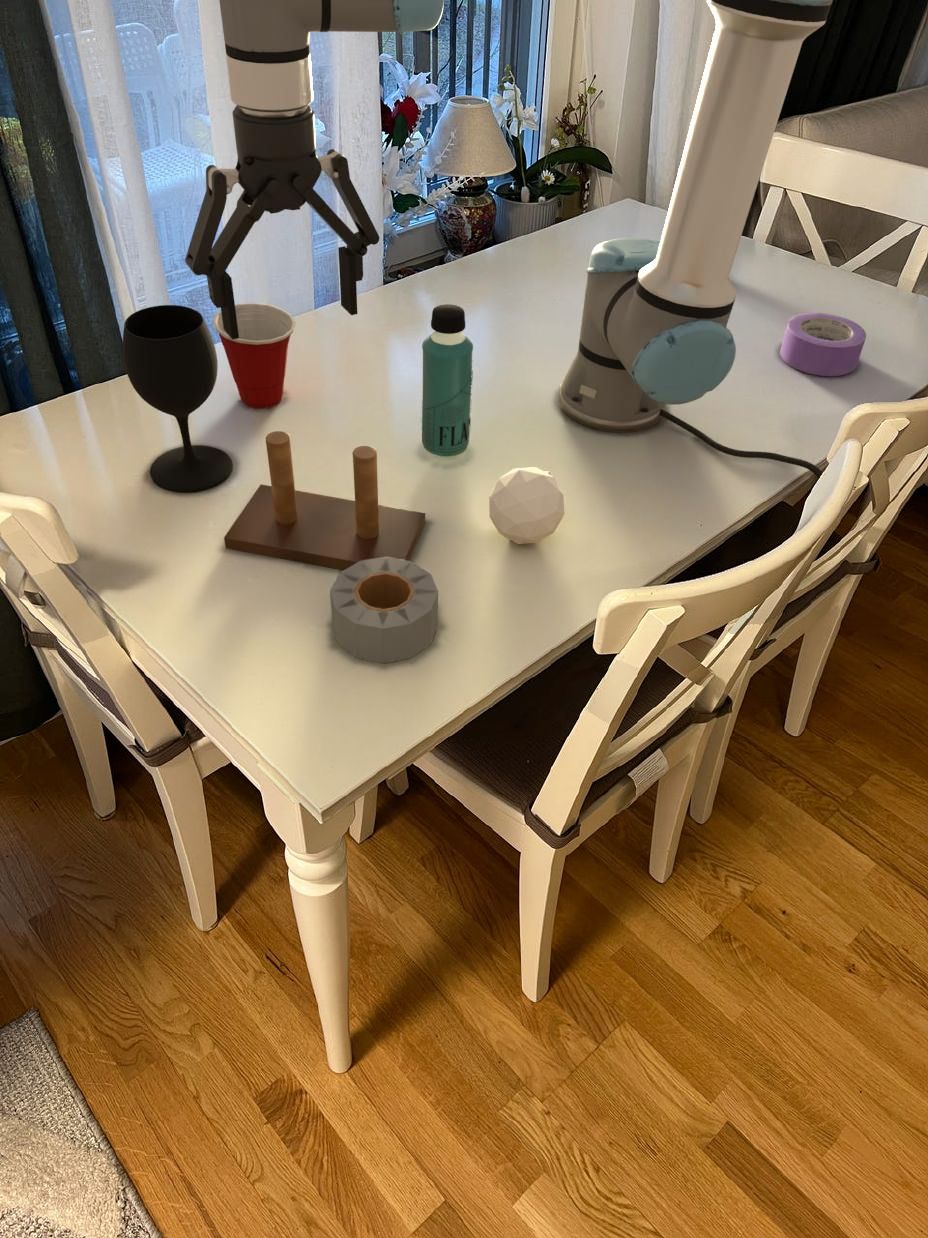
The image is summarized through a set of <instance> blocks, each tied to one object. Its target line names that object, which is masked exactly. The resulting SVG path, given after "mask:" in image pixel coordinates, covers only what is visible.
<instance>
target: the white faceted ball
mask: <svg viewBox="0 0 928 1238" xmlns="http://www.w3.org/2000/svg"><path fill="white" fill-rule="evenodd" d="M564 501H565V500H564V493H563V491H562V490H561V487H560V485H559V483H558V481H557V480H556V478H555V476H553V475H551V472H550V470H545V471H544V470H542V469H541V468H538V467H537V466H533V467H532V466H530V467H519V468H518V467H515V468H512V469H511V470H510V471H508V472H507V473H505V474H503V475H501V476H500V477H498V479H497V481H496V482H495V484H494V487H493V489H492V490H491V493H490V495H489V497H488V504H489V505H488V506H489V509H488V510H489V512H488V513H489V518H490V520H491V523H492V524H493V526H494V527H495V529H496V531H497V532H498V534H499V535H501V536H503V537H505V538H506V539H508V540H510V541H511V542H514V543H515V544H516V545H517V544H518V545H519V544H520V545H522V544H523V545H524V544H539V543H541V542H542V541H544V540H545V539H546V538H548V537H549V536H551V535H552V534H554V533H555V531H556V530H557V528H558V526H559V524H560V523H561V522H562V520H563V518H564V516H565V502H564Z"/></svg>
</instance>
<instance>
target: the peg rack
mask: <svg viewBox="0 0 928 1238" xmlns="http://www.w3.org/2000/svg"><path fill="white" fill-rule="evenodd" d="M265 445H266V454H267V460H268V461H267V462H268V470H269V477H270V485H267V484H260V485H259V486H258V487H257V489H256V490H255V492H254V493H253V494H252V496H251V498H250V499H249V501H248V502H247V503H246V505H245V506H244V508H243V509H242V511H241V512H240V513H239V515H238V517H237V518H236V519H235V521H234V522H233V524H232V525H231V527H230V528H229V529H228V531H227V532H226V534H225V535H224V537H223V540H224V546H225V549H228V550H234V551H240V552H243V553H251V554H255V555H260V556H265V557H270V558H276V559H282V560H287V561H288V560H289V561H293V562H298V563H304V564H309V565H315V566H319V567H324V568H325V567H326V568H330V569H335V570H341V571H344V570H346V569H347V568H349V567H351V566H352V565H354V564H356V563H357V562H359V561H362V560H369V559H375V558H381V557H390V558H395V559H401V560H406V561H411V560H410V559H411V557H412V555H413V553H414V550H415V548H416V546H417V543H418V542H419V539H420V537H421V535H422V532H423V530H424V527H425V526H426V519H427V518H426V516H427V515H426V512H421V511H415V510H411V509H404V508H399V507H398V508H397V507H393V506H389V505H388V506H387V505H381V504H379V487H378V486H379V485H378V483H379V482H378V481H379V480H378V452H377V449H376V448H374V447H373V446H370V445H360V446H356V447H355V448H354V449H353V451H352V467H353V470H352V471H353V490H354V500H352V499H347V498H342V497H336V496H335V497H334V496H330V495H324V494H319V493H312V492H307V491H301V490H296V487H295V478H294V477H295V476H294V466H293V456H292V448H291V447H292V446H291V437H290V434H289V433H287V432H285V431H281V430H276V431H272V432H269V433H267V434H266V436H265Z"/></svg>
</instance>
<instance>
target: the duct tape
mask: <svg viewBox="0 0 928 1238" xmlns="http://www.w3.org/2000/svg"><path fill="white" fill-rule="evenodd" d="M432 575H433V574H431V572H428V571H427V570H425V569H424V568H423V567H421V566H419V564H416V563H415V562H414V561H411V560H409V561H406V560H401V559H395V558H390V557H381V558H375V559H369V560H362V561H359V562H357V563H356V564H354V565H352V566H351V567H349V568H347V569H346V570H341V572H339V573H338V575H337V576H336V578H335V580H334V582H333V584H332V586H331V587H330V590H329V596H330V608H331V609H330V610H331V611H330V612H331V621H332V622H331V623H332V629H333V631H334V635H335V639H336V642H337V645H338V646H339V647H341V648H342V649H344V650H345V651H346V652H348V653H349V654H350V655H351V656H353V657H354V658H355V659H359V660H360V659H361V660H365V661H370V662H375V663H378V664H389V663H394V662H401V661H405V660H410V659H413V658H414V657H416V656H417V655H418V654H420V653H421V652H423V651H424V650H425V649H427V648H428V647H430V646H431V645H432V643H433V640H434V637H435V634H436V631H437V629H438V621H439V620H438V619H439V618H438V617H439V590H438V587H437V585H436V582H435V580H434V577H433V576H432Z"/></svg>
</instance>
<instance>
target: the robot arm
mask: <svg viewBox="0 0 928 1238" xmlns="http://www.w3.org/2000/svg"><path fill="white" fill-rule="evenodd" d="M833 1H834V0H706V2H707V5H708V6H709V9H710V10H711V12H712V14H713V16H714V19H715V31H714V33H713V37H712V42H711V45H710V49H709V52H708V56H707V60H706V64H705V68H704V72H703V76H702V80H701V82H700V83H701V84H700V88H699V91H698V95H697V99H696V103H695V107H694V111H693V114H692V119H691V122H690V126H689V130H688V134H687V138H686V141H685V145H684V149H683V153H682V158H681V161H680V165H679V168H678V171H677V176H676V179H675V184H674V188H673V192H672V195H671V199H670V203H669V206H668V211H667V215H666V218H665V223H664V226H663V229H662V234H661V237H660V240H658V239H651V238H645V237H643V238H642V237H623V238H613V239H608V240H605V241H603V242H601V243H599V244H597V245H596V246H595V247H594V248H593V250H592V251H591V254H590V259H589V264H588V268H587V269H586V274H587V275H586V283H585V289H584V298H583V307H582V315H581V316H582V317H581V324H580V329H579V339H578V347H577V351H576V354H575V355H574V357H573V359H572V361H571V363H570V365H569V367H568V369H567V371H566V373H565V374H564V377H563V379H562V380H561V383H560V386H559V393H558V404H559V407H560V409H561V411H562V412H563V413H564V414H565V415H566V416H567V417H569V418H571V420H573V421H575V422H576V423H578V424H580V425H582V426H585V427H588V428H591V429H594V430H598V431H604V432H609V433H610V432H611V433H632V432H637V431H642V430H645V429H649V428H651V427H653V426H654V425H656V424H657V423H659V422H660V421H661V420H662V418H664V419H666V420H667V421H669V422H671V423H673V424H675V425H676V426H679V428H682V429H684V430H685V431H687V432H689V433H690V434H691V435H693V436H695V437H697V438H698V439H699V440H700V441H702V442H703V443H705V444H706V445H708V446H709V447H711V448H712V449H714V450H716V451H718V452H721V453H723V454H726V455H729V456H732V457H737V458H738V457H739V458H744V459H745V458H746V459H747V458H748V459H764V460H765V459H766V460H773V461H777V462H781V463H784V464H790V465H794V466H797V467H798V466H799V467H802V468H804V469H807V470H809V472H811V473H813V474H814V475H815V477H817V479H819V478H820V476H821V475H822V473H824V472H823V471H822V470H821V469H820V467H818V466H816V465H815V464H814V463H811V462H810V461H807V460H805V459H802V458H797V457H792V456H788V455H784V454H779V453H775V452H770V451H757V450H755V451H753V450H740V449H736V448H735V449H734V448H731V447H729V446H727V445H726V446H725V445H723V444H721V443H719V442H717V441H715V440H714V439H712V438H711V437H709V436H708V435H706V434H705V433H704V432H702V431H701V430H699V429H698V428H696V427H694V426H693V425H691V424H689V423H687V422H686V421H684V420H683V419H681V418H679V417H677V416H675V415H674V414H672V413H670V412H668V411H666V407H667V405H671V406H673V405H683V404H688V403H691V402H694V401H697V400H700V399H702V397H704V395H705V394H707V393H709V392H713V391H714V390H715V389H716V388H717V387H718V386H719V385H720V384H721V383H722V382H723V381H724V380H725V378H727V376H728V375H729V373H730V371H731V369H733V368H732V367H733V365H734V362H735V359H736V354H737V353H736V352H737V346H736V342H735V339H734V336H733V335H734V334H733V333H732V332H731V330H730V329H729V328H727V326H728V322H729V319H730V316H731V314H732V310H733V307H734V305H735V301H736V299H737V289H736V287H735V286H734V284H733V283H732V281H731V279H730V274H731V270H732V266H733V264H734V262H735V261H734V260H735V257H736V254H737V251H738V248H739V245H740V241H741V238H742V236H743V231H744V229H745V226H746V223H747V219H748V217H749V213H750V210H751V207H752V203H753V200H754V197H755V193H756V191H757V188H758V184H759V182H760V178H761V175H762V171H763V168H764V165H765V163H766V159H767V156H768V153H769V149H770V146H771V143H772V140H773V137H774V134H775V130H776V127H777V124H778V121H779V118H780V115H781V112H782V110H783V109H782V108H783V105H784V102H785V100H786V96H787V93H788V89H789V86H790V83H791V80H792V77H793V73H794V70H795V68H796V64H797V60H798V57H799V55H800V52H801V48H802V45H803V42H804V41H805V39H807V37H809V36H810V35H811V34H813V33H814V32H816V31H817V30H819V28H821V27H823V26H824V25H825V24H826V22H827V19H828V15H829V12H830V10H831V6H832V4H833ZM218 2H219V8H220V16H221V24H222V25H221V26H222V32H223V41H224V48H225V56H226V57H225V58H226V67H227V75H228V84H229V85H228V86H229V92H230V93H229V95H230V101H232V103H233V104H235V106H234V109H233V110H232V120H233V121H232V122H233V129H234V138H235V139H234V140H235V147H236V155H237V162H236V165H235V168H218V166H216V165H215V164H209V165H208V166H207V167H206V168H205V193H204V197H203V199H202V203H201V206H200V209H199V212H198V216H197V219H196V222H195V226H194V229H193V231H192V235H191V239H190V242H189V245H188V248H187V252H186V255H185V258H184V263H185V264H186V265H187V267H188V268H189V269H190V271H191V272H192V273H193V274H194V275H196V276H201V275H202V276H206V281H207V289H208V294H209V299H210V301H211V303H212V304H213V305H214V306H215V307H216V309H220V310H221V313H222V320H223V328H224V330H225V331H226V332H227V334H228V335H229V336H230V337H231V339H232V340H233V339H238V338H239V333H238V325H237V317H236V310H235V304H236V303H235V297H234V295H235V294H234V289H233V279H232V276H230V274H229V273H228V272H227V269H228V267H229V266H230V264H231V263H232V261H233V259H234V257H235V256H236V255H237V253H238V251H239V249H240V247H241V246H242V244H243V243H244V241H245V239H246V237H247V236H248V235H249V233H250V231H251V230H252V228H253V226H254V225H255V224H256V222H259V221H260V219H261V218H262V216H263V214H264V213H265V212H267V213H269V214H271V215H272V214H273V215H274V214H278V213H281V212H283V211H285V210H287V211H298V210H301V207H303V206H304V205H305V204H307V205H308V206H309V207H310V208H311V209H312V210H313V211H314V212H315V213H316V214H317V215H318V217H319V218H320V219H322V220H323V222H324V223H325V224H326V225H327V226H328V227H329V228H330V229H331V230H332V231H333V232H334V234H336V235H337V237H339V238H340V239H341V241H343V243H344V244H345V245H346V246H344V245H343V246H338V248H337V250H338V271H339V289H340V291H339V292H340V306H341V307H342V308H343V309H344V310H345V311H346V312H347V313H348V314H349V315H350V316H355V315H358V293H357V282H360V281H363V278H364V256H365V255H367V254H368V247H369V246H371V245H374V246H375V245H377V244H378V243H379V241H380V235H379V232H378V230H377V229H376V227H375V225H374V223H373V221H372V220H371V217H370V215H369V213H368V212H367V209H366V207H365V205H364V204H363V201H362V199H361V197H360V195H359V194H358V191H357V189H356V187H355V186H354V184H353V182H352V180H351V175H350V168H349V161H348V159H347V157H346V156H345V155H343V154H341V153H340V152H339V151H338V150H337V149H334V148H330V149H329V150H328V151H327V153H326V154H325V155H322V156H317V152H316V151H317V139H316V123H315V111H314V110H313V108H312V107H311V106H310V105H311V104H312V103H313V101H314V90H313V76H312V75H313V74H312V73H313V72H312V61H311V44H310V34H311V33H312V32H313V33H314V32H318V33H328V32H337V33H338V32H341V33H342V32H345V33H348V32H350V33H361V32H362V33H364V32H365V33H399V34H400V35H405V34H406V33H410V32H412V33H413V32H421V31H422V32H423V31H431V30H433V29H435V28H436V26H438V24H439V23H440V20H441V18H442V15H443V10H444V3H445V0H218ZM322 172H323V173H324V174H325V176H326V177H328V178H329V179H330V180H331V181H332V184H333V185H334V187H335V189H336V191H337V193H338V195H339V197H340V199H341V200H342V203H343V204H344V206H345V208H346V210H347V212H348V214H349V216H350V217H351V219H352V221H353V223H354V225H355V227H356V229H357V231H356V232H353V231H352V230H351V229H350V227H349V226H348V225H347V224H346V223H345V222H344V221H343V220H342V219H341V218H340V217H339V216H338V214H336V212H334V210H333V209H332V207H330V206H329V205H328V204H327V203H326V201H325V200H324V199H323V198H322V197H321V196H320V194H319V193H318V192H317V191H315V189H314V188H315V186H316V184H317V182H318V180H319V179H320V177H321V174H322ZM236 184H239V186H240V187H241V188H242V189H243V191H242V193H241V194H240V195H239V197H238V199H237V201H236V207H235V209H234V211H233V212H232V214H231V215H230V217H229V219H228V221H227V222H226V224H225V226H224V227H223V228H222V230H221V232H220V233H219V235H218V237H217V239H216V236H217V233H218V231H219V227H220V223H221V221H222V218H223V214H224V211H225V208H226V205H227V200H228V199H227V198H228V195H230V194H231V193H232V191H233V188H234V186H235V185H236Z"/></svg>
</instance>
